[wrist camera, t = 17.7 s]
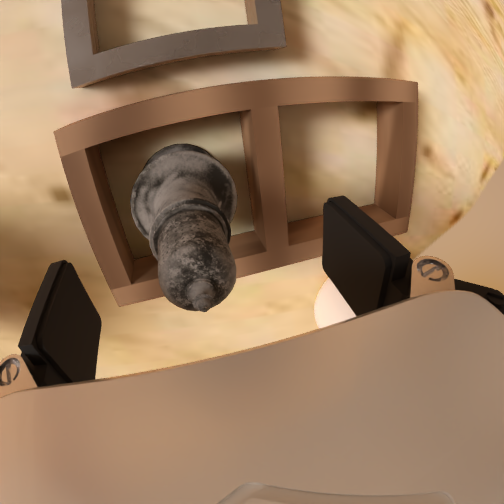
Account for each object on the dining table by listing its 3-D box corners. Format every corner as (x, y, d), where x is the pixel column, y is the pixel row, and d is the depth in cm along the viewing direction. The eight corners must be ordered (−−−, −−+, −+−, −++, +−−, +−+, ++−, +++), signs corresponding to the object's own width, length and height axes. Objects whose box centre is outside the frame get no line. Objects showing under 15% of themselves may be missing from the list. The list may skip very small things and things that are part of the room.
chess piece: (124, 209, 19) (96, 353, 9) (155, 125, 16) (138, 192, 7) (203, 234, 21) (246, 376, 11) (240, 159, 19) (329, 257, 9)
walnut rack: (391, 78, 18) (417, 82, 16) (386, 216, 25) (407, 232, 22) (69, 123, 15) (53, 131, 12) (122, 280, 21) (119, 306, 19)
